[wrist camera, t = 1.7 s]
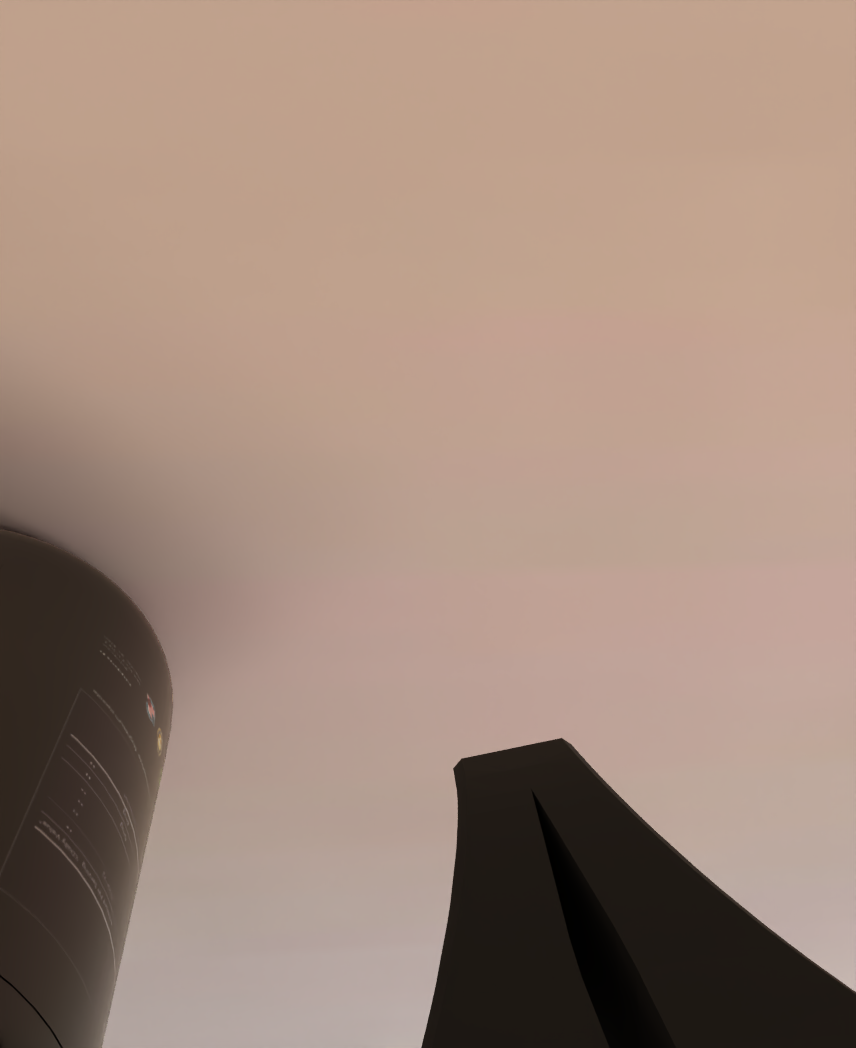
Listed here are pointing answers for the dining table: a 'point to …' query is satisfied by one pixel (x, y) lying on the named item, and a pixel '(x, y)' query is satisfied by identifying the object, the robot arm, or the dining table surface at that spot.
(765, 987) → the robot arm
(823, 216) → the dining table surface
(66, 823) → the supplement bottle
